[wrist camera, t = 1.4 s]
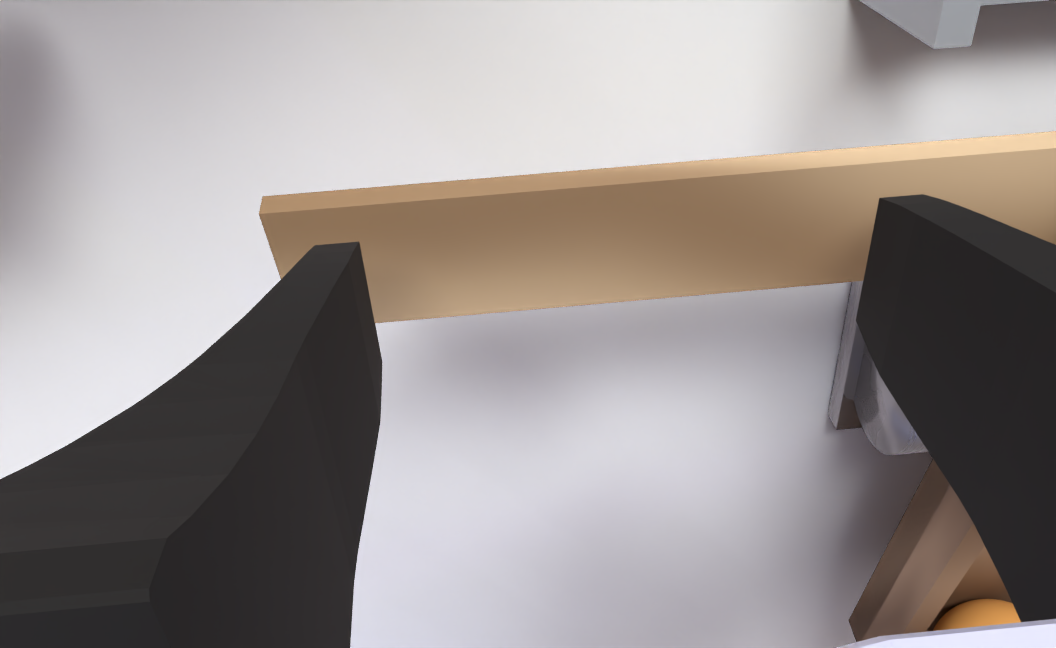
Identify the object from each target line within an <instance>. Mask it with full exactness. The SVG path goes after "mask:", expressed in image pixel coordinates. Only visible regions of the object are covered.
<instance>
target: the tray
mask: <svg viewBox="0 0 1056 648" xmlns="http://www.w3.org/2000/svg"><path fill="white" fill-rule="evenodd" d="M859 1H861V2H862V3H864V4H865V5H867V6H868V7H870V8H871V9H873V10H874V11H876V12H877V13H879V14H880V15H882V16H884V17H885V18H887V19H888V20H890V21H891V22H893V23H894V24H896V25H897V26H899V27H900V28H902V29H903V30H905V31H906V32H908V33H910V34H911V35H913V36H914V37H916V38H917V39H919V40H920V41H922V42H923V43H925V44H926V45H928V46H929V47H931V48H932V49H943V48H956V47H969V46H971V45H972V41H973V36H974V32H975V28H976V24H977V19H978V15H979V11H980V6H983V5H996V4H1009V3H1022V2H1034V1H1047V0H859Z"/></svg>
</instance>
